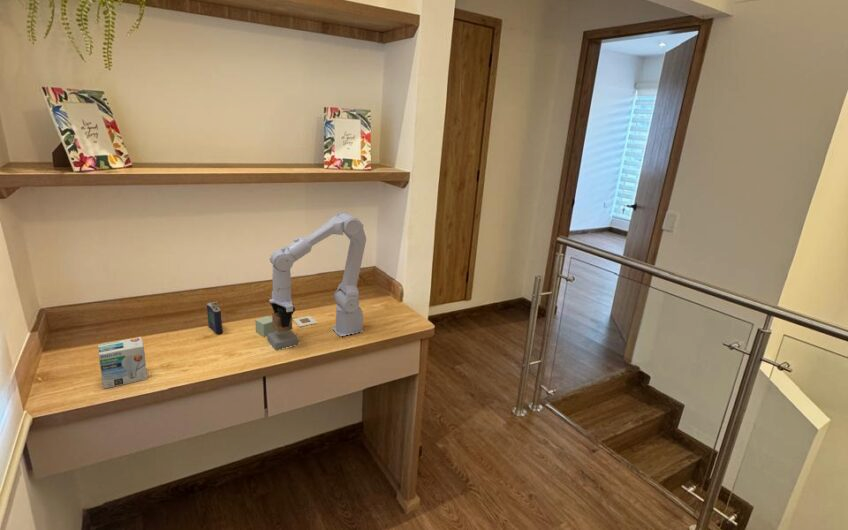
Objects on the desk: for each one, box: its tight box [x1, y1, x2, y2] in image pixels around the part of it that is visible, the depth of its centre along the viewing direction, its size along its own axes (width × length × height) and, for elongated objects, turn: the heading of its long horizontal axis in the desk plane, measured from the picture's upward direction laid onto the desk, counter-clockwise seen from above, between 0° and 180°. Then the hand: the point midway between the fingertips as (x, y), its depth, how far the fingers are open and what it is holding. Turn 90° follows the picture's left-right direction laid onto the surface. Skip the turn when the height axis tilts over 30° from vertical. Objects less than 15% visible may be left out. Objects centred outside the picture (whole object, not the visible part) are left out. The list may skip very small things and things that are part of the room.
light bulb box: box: [97, 336, 148, 390], centre depth 128 cm, size 11×7×11 cm, turn 126°
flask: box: [206, 301, 224, 336], centre depth 159 cm, size 9×3×11 cm, turn 43°
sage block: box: [254, 315, 277, 338], centre depth 161 cm, size 5×5×5 cm
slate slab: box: [266, 330, 300, 351], centre depth 156 cm, size 8×8×3 cm
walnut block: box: [271, 312, 293, 332], centre depth 153 cm, size 5×5×5 cm
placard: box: [292, 315, 318, 328], centre depth 172 cm, size 7×7×1 cm
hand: (282, 323), depth 154 cm, fingers closed on walnut block, 5 cm apart
